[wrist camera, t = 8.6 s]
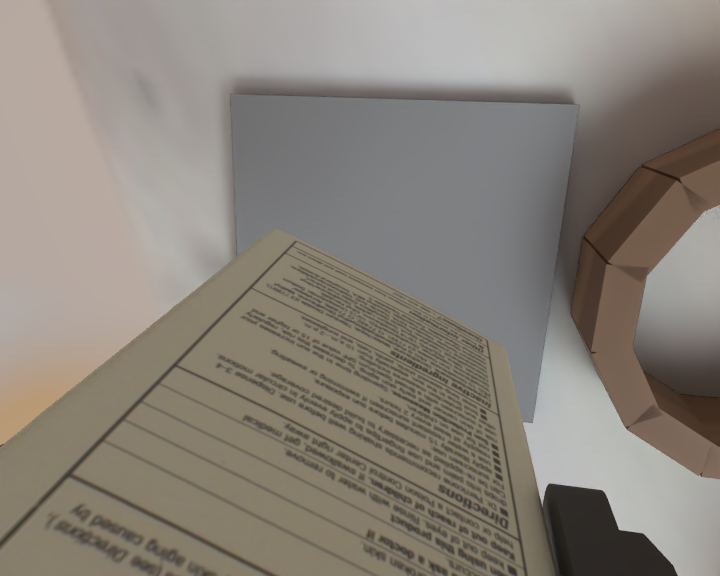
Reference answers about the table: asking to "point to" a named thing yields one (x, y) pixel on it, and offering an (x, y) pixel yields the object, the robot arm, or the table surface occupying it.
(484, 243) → the mat
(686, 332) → the table surface
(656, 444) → the holder ring
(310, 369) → the skincare box
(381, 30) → the table surface
